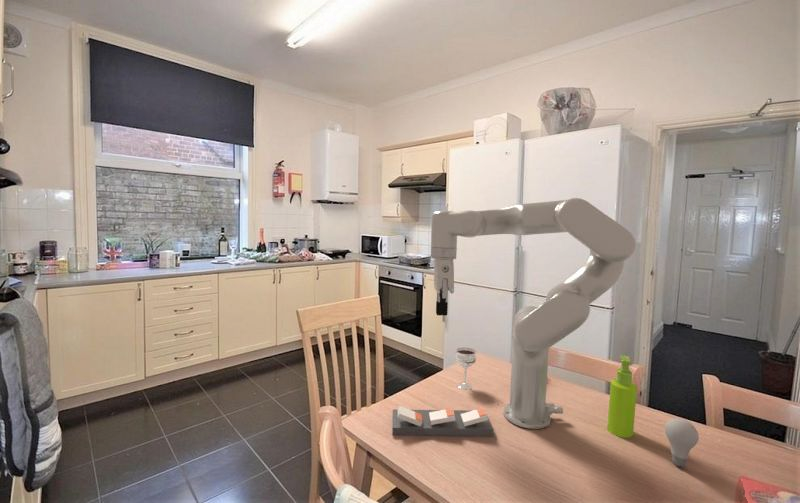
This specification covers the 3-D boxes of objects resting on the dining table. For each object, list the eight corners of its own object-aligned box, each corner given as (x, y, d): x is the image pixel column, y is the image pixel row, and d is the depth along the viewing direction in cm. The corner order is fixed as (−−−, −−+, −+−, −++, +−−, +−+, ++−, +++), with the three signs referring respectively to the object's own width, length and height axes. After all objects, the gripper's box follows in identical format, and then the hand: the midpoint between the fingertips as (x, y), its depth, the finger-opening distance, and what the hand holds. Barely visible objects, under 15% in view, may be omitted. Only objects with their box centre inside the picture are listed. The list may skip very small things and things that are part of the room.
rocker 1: (419, 418, 98) (421, 413, 98) (420, 426, 95) (422, 421, 94) (397, 409, 98) (399, 404, 98) (397, 417, 94) (399, 412, 94)
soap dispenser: (630, 426, 100) (636, 355, 98) (634, 440, 94) (640, 364, 92) (606, 421, 103) (611, 352, 101) (608, 434, 96) (614, 360, 95)
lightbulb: (684, 478, 80) (689, 430, 79) (656, 460, 86) (660, 416, 85) (701, 470, 83) (706, 424, 82) (672, 454, 88) (676, 411, 87)
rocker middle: (453, 412, 98) (452, 407, 98) (455, 420, 94) (454, 415, 94) (429, 416, 98) (428, 411, 98) (431, 425, 95) (430, 420, 94)
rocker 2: (484, 411, 99) (483, 406, 98) (488, 419, 95) (486, 414, 94) (461, 418, 99) (460, 413, 99) (464, 426, 95) (463, 421, 95)
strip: (484, 417, 103) (485, 408, 103) (493, 436, 94) (493, 426, 94) (392, 416, 103) (392, 407, 103) (392, 435, 94) (392, 425, 94)
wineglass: (452, 381, 126) (453, 347, 125) (471, 381, 126) (472, 347, 125) (457, 390, 119) (458, 355, 118) (477, 390, 120) (479, 354, 119)
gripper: (460, 256, 100) (458, 322, 102) (452, 251, 115) (450, 308, 117) (433, 255, 100) (431, 321, 102) (428, 250, 115) (426, 308, 116)
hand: (441, 314), depth 109 cm, fingers closed
